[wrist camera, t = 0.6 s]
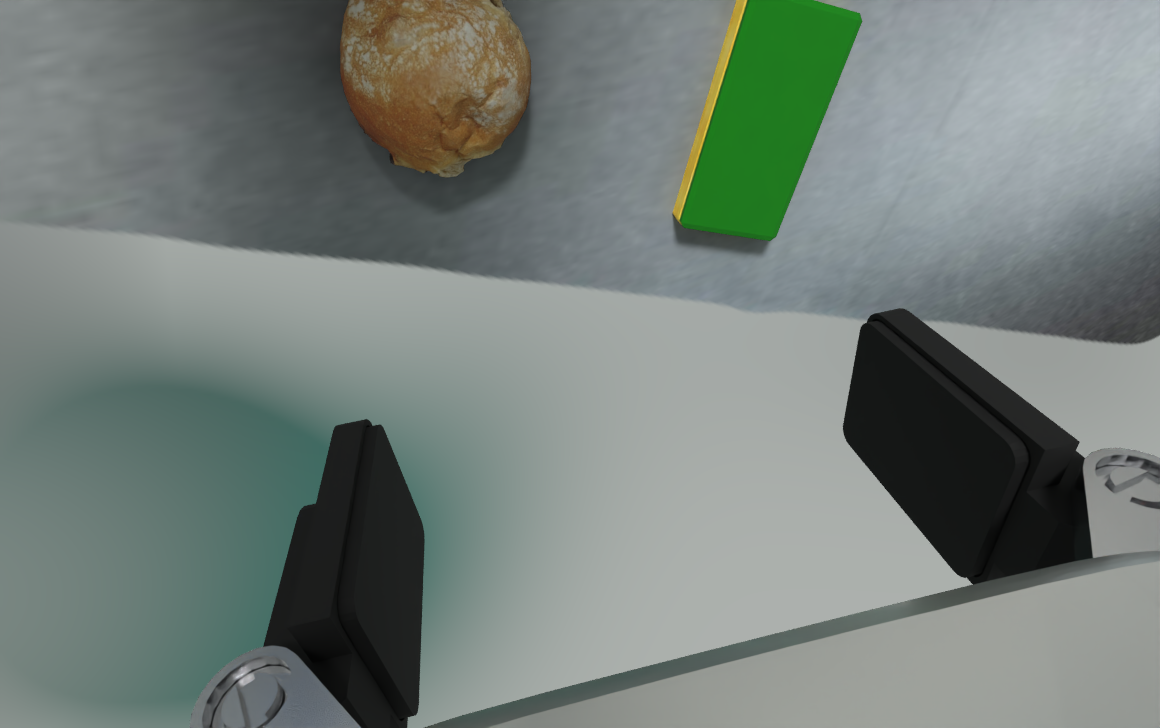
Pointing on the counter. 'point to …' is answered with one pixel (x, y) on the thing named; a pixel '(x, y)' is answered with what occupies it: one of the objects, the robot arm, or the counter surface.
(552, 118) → the counter surface
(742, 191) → the dish sponge
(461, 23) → the bread roll
